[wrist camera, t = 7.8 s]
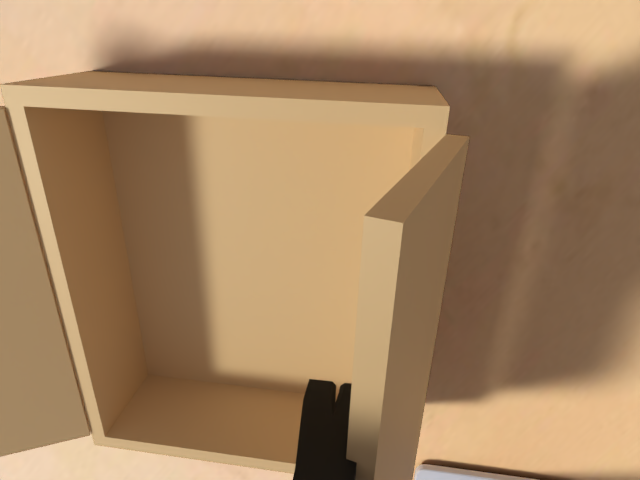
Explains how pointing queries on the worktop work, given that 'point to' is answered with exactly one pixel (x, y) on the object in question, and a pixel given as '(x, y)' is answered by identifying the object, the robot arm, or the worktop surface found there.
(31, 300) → the flap
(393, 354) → the flap
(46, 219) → the carton
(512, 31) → the worktop surface
